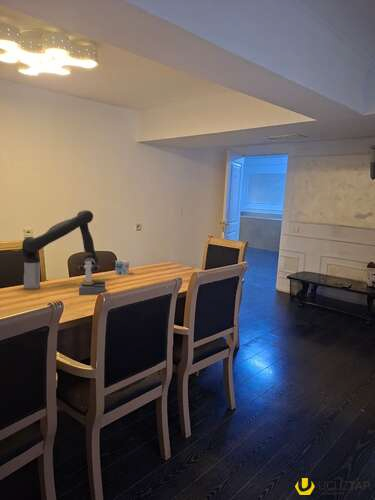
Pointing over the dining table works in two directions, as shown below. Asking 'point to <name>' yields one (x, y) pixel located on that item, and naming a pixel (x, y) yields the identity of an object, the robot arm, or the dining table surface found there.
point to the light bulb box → (122, 267)
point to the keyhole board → (92, 288)
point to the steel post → (88, 273)
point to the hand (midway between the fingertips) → (88, 270)
